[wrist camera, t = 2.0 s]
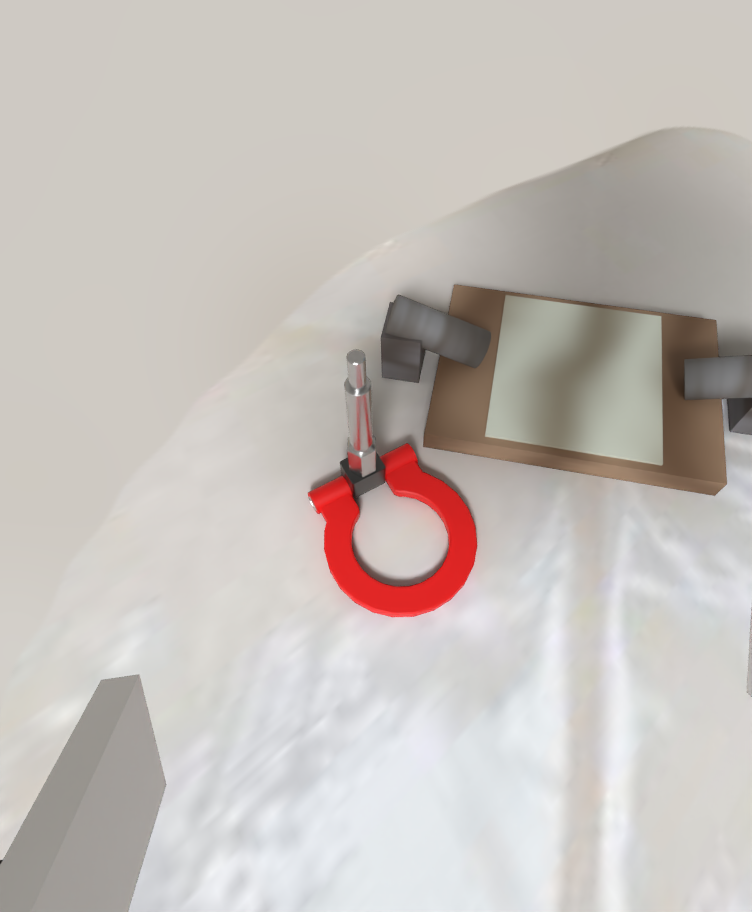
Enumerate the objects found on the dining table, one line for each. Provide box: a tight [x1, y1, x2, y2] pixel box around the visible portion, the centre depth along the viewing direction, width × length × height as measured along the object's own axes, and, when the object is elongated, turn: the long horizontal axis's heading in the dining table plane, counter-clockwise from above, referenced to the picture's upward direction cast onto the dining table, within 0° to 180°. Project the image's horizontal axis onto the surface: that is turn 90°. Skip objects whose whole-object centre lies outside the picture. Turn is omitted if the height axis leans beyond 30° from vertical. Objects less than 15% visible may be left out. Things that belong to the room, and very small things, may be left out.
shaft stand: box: [381, 285, 752, 496], centre depth 37 cm, size 24×12×6 cm, turn 78°
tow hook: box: [308, 349, 477, 617], centre depth 30 cm, size 8×13×9 cm
